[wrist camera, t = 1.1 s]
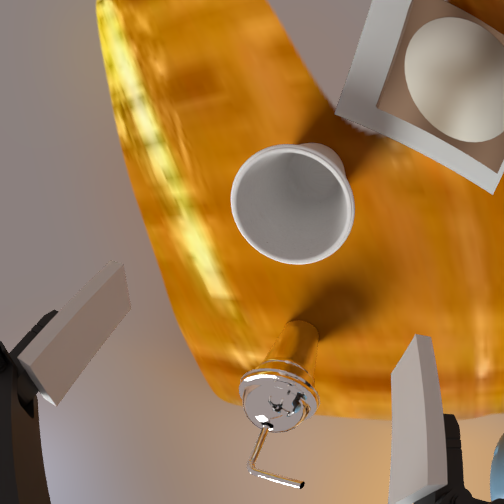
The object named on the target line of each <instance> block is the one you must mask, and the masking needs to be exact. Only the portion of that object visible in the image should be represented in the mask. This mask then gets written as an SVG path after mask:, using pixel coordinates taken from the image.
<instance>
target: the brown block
mask: <svg viewBox="0 0 504 504" xmlns="http://www.w3.org/2000/svg"><path fill="white" fill-rule="evenodd" d="M376 107H377V108H378V109H380V110H382V111H385V112H387V113H389V114H391V115H393V116H396V117H398V118H400V119H402V120H404V121H406V122H408V123H410V124H412V125H414V126H416V127H418V128H420V129H422V130H424V131H426V132H428V133H430V134H432V135H434V136H435V137H437V138H439V139H441V140H443V141H445V142H446V143H448V144H450V145H452V146H453V147H455V148H457V149H459V150H460V151H462V152H464V153H465V154H467V155H469V156H470V157H472V158H474V159H475V160H477V161H478V162H480V163H482V164H483V165H485V166H486V167H488V168H489V169H491V170H492V171H494V172H495V173H497V174H498V171H499V169H500V167H501V165H502V162H503V160H504V35H503V34H501V33H500V32H498V31H497V30H495V29H494V28H492V27H491V26H489V25H487V24H486V23H484V22H482V21H481V20H479V19H477V18H476V17H474V16H472V15H471V14H469V13H467V12H465V11H463V10H462V9H460V8H458V7H456V6H454V5H452V4H450V3H448V2H446V1H444V0H412V1H411V3H410V6H409V9H408V12H407V15H406V18H405V22H404V25H403V28H402V31H401V34H400V38H399V41H398V44H397V47H396V50H395V53H394V56H393V59H392V62H391V65H390V68H389V71H388V73H387V76H386V79H385V82H384V85H383V88H382V90H381V93H380V96H379V99H378V102H377V104H376Z"/></svg>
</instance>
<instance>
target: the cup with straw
mask: <svg viewBox="0 0 504 504" xmlns="http://www.w3.org/2000/svg"><path fill="white" fill-rule="evenodd" d="M318 339H319V333H318V331H317V329H316V328H315V327H314V326H313V325H312V324H310V323H308V322H306V321H301V320H295V321H291V322H289V323H287V324H286V325H285V327H284V329H283V330H282V332H281V333H280V335H279V336H278V338H277V340H276V341H275V343H274V344H273V346H272V348H271V349H270V351H269V352H268V354H267V356H266V357H265V359H264V360H263V362H261V363H260V365H259V366H258V367H257V368H256V369H254V370H251V371H249V372H247V373H246V374H245V375H243V377H242V378H241V381H240V386H239V394H240V396H241V399H242V400H243V408H244V411H245V414H246V416H247V417H248V419H249V420H250V421H251V422H252V423H253V424H254V425H255V426H257V427H258V428H260V429H261V432H260V435H259V437H258V439H257V441H256V444H255V446H254V448H253V451H252V453H251V456H250V458H249V460H248V463H247V469H248V471H249V472H250V473H251V474H252V475H255V476H258V477H261V478H264V479H268V480H271V481H274V482H278V483H281V484H284V485H288V486H292V487H296V488H300V489H301V488H303V487H304V484H305V483H304V482H303V481H299V480H295V479H291V478H288V477H283V476H279V475H277V474H273V473H269V472H266V471H263V470H260V469H256V468H255V464H256V461H257V458H258V456H259V454H260V451H261V449H262V446H263V444H264V441H265V439H266V436H267V434H268V432H275V433H278V432H286V431H289V430H292V429H294V428H296V427H297V426H298V425H299V424H301V423H302V422H303V421H304V420H306V419H308V418H310V417H311V416H313V415H314V413H315V412H316V410H317V408H318V407H319V403H320V398H319V395H318V392H317V391H316V389H315V379H314V375H315V367H316V359H317V350H318Z"/></svg>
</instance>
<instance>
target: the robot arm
mask: <svg viewBox="0 0 504 504" xmlns="http://www.w3.org/2000/svg"><path fill="white" fill-rule="evenodd" d="M130 309H131V304H130V299H129V293H128V288H127V282H126V276H125V270H124V264H122V263H118V262H115V261H112V260H111V261H109V262H108V263H107V265H105V266H104V267H103V268H102V269H101V270H100V271H99V272H98V273H97V274H96V275H95V276H94V277H93V278H92V279H91V280H90V281H89V282H88V283H87V284H86V285H85V286H84V287H83V288H82V289H81V290H80V291H79V292H78V293H77V294H76V295H75V296H74V297H73V298H72V299H71V300H70V301H69V302H68V303H67V304H66V305H65V306H64V307H63V308H62V309H61V310H60V311H59V312H58V311H56V310H53V311H51V312H50V313H48V314H46V315H44V316H43V318H42V319H41V320H40V321H39V322H38V323H37V325H35V326H34V327H33V328H32V330H31V331H29V332H28V333H27V334H26V336H25V337H24V338H23V339H22V340H21V341H20V342H19V343H18V344H17V346H16V347H15V348H14V349H13V350H12V351H11V352H10V353H8V352H7V350H6V348H5V346H4V345H3V343H2V342H1V341H0V504H51V502H50V497H49V493H48V487H47V481H46V476H45V470H44V464H43V456H42V448H41V439H40V429H39V416H38V399H37V396H36V394H37V393H38V391H39V392H40V393H41V395H42V396H43V397H44V399H46V400H47V401H49V402H50V403H52V404H54V405H55V406H58V404H59V403H60V401H61V400H62V399H63V397H64V396H65V394H66V393H67V392H68V390H69V389H70V388H71V386H72V385H73V383H74V382H75V381H76V379H77V378H78V377H79V375H80V374H81V372H82V371H83V370H84V369H85V367H86V366H87V365H88V363H89V362H90V361H91V359H92V358H93V357H94V355H95V354H96V353H97V351H98V350H99V349H100V348H101V346H102V345H103V343H104V342H105V341H106V340H107V338H108V337H109V336H110V334H111V333H112V332H113V331H114V329H115V328H116V327H117V326H118V324H119V323H120V322H121V321H122V319H123V318H124V317H125V316H126V314H127V313H128V312H129V311H130ZM391 387H392V449H391V470H390V485H389V497H388V504H412V503H414V504H504V434H503V435H502V436H501V438H500V440H499V442H498V444H497V446H496V449H495V452H494V457H493V461H492V465H491V474H490V493H491V502H486V501H482V500H478V499H475V498H473V497H472V495H471V493H470V492H469V491H468V490H467V489H465V487H464V481H463V462H462V450H461V440H460V429H459V425H458V423H457V420H456V418H455V416H454V415H453V414H443V408H442V400H441V393H440V386H439V379H438V373H437V367H436V361H435V356H434V350H433V345H432V340H431V337H428V336H423V335H417V334H415V336H414V338H413V340H412V341H411V343H410V345H409V346H408V348H407V350H406V351H405V353H404V354H403V356H402V358H401V359H400V361H399V362H398V364H397V366H396V367H395V369H394V370H393V372H392V373H391Z"/></svg>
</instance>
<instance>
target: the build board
mask: <svg viewBox="0 0 504 504" xmlns="http://www.w3.org/2000/svg"><path fill="white" fill-rule="evenodd" d="M411 1H412V0H372V3H371V6H370V9H369V12H368V16H367V19H366V22H365V25H364V28H363V31H362V34H361V37H360V40H359V43H358V46H357V49H356V52H355V55H354V58H353V61H352V64H351V67H350V70H349V73H348V76H347V79H346V82H345V85H344V88H343V90H342V93H341V96H340V99H339V102H338V105H337V108H336V110H335V113H334V114H335V115H338V116H340V117H343V118H345V119H348V120H350V121H353V122H355V123H357V124H360V125H362V126H364V127H367V128H369V129H371V130H374V131H376V132H378V133H380V134H383V135H385V136H387V137H389V138H391V139H393V140H396V141H398V142H400V143H402V144H404V145H406V146H408V147H410V148H412V149H414V150H416V151H418V152H420V153H422V154H424V155H426V156H427V157H429V158H431V159H433V160H435V161H437V162H439V163H441V164H442V165H444V166H446V167H448V168H449V169H451V170H453V171H455V172H456V173H458V174H460V175H462V176H463V177H465V178H467V179H468V180H470V181H472V182H473V183H475V184H476V185H478V186H480V187H481V188H483V189H484V190H486V191H488V192H489V193H491V194H492V195H493V193H494V191H495V189H496V187H497V185H498V183H499V181H500V179H501V176H502V174H503V172H504V160H503V162H502V165H501V167H500V169H499V171H498V174H497V173H495V172H494V171H492V170H491V169H489V168H488V167H486V166H485V165H483V164H482V163H480V162H478V161H477V160H475V159H474V158H472V157H470V156H469V155H467V154H465V153H464V152H462V151H460V150H459V149H457V148H455V147H453V146H452V145H450V144H448V143H446V142H445V141H443V140H441V139H439V138H437V137H435V136H434V135H432V134H430V133H428V132H426V131H424V130H422V129H420V128H418V127H416V126H414V125H412V124H410V123H408V122H406V121H404V120H402V119H400V118H398V117H396V116H393V115H391V114H389V113H387V112H385V111H382V110H380V109H378V108H377V107H376V104H377V102H378V99H379V96H380V93H381V90H382V88H383V85H384V82H385V79H386V76H387V73H388V71H389V68H390V65H391V62H392V59H393V56H394V53H395V50H396V47H397V44H398V41H399V38H400V34H401V31H402V28H403V25H404V22H405V18H406V15H407V12H408V9H409V6H410V3H411Z"/></svg>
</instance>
